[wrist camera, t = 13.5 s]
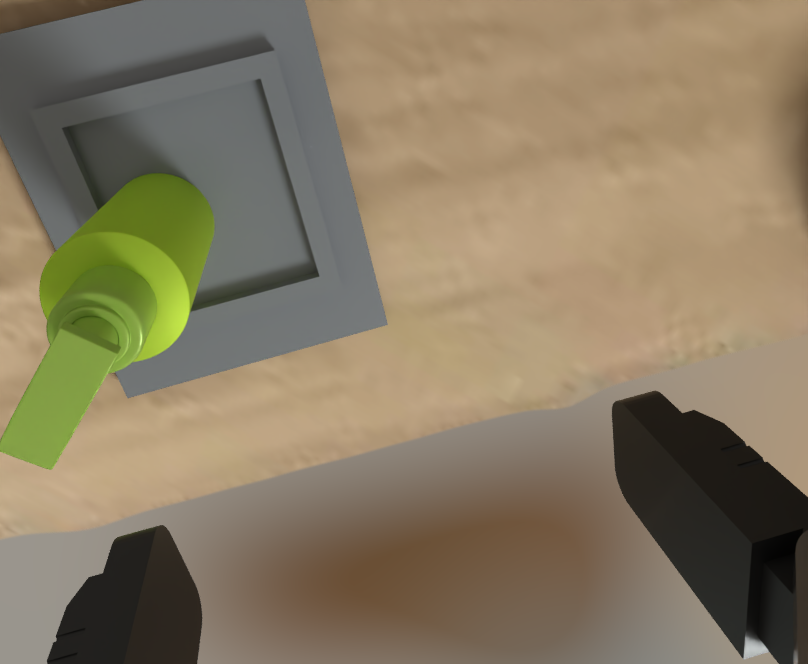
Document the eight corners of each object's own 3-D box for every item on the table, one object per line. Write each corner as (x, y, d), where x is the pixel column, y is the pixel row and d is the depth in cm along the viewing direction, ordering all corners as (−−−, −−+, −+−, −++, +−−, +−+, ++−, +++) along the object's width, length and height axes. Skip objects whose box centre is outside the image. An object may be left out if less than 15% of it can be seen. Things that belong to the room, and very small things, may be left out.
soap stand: (-32, 44, 34) (-53, 44, 32) (294, -33, 36) (296, -38, 34) (132, 387, 44) (124, 405, 42) (384, 316, 45) (390, 330, 43)
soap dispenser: (86, 252, 38) (-77, 435, 20) (139, 153, 37) (12, 256, 19) (178, 298, 41) (104, 500, 23) (232, 207, 39) (197, 346, 21)
